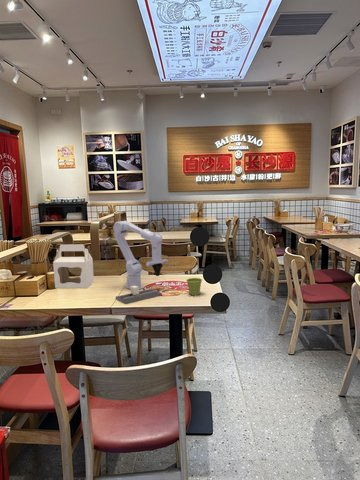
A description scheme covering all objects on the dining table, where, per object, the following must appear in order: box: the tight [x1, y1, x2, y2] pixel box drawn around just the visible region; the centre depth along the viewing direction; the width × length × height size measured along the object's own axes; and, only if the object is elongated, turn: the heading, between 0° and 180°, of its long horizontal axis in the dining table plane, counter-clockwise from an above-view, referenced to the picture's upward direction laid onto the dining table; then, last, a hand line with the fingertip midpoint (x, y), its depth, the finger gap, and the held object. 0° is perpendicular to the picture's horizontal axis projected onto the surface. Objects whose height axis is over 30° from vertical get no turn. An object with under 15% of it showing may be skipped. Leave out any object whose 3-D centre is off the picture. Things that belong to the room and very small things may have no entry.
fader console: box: [115, 288, 163, 305], centre depth 197 cm, size 12×24×2 cm, turn 127°
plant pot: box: [185, 277, 203, 296], centre depth 200 cm, size 9×9×9 cm
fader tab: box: [129, 285, 140, 296], centre depth 195 cm, size 4×3×5 cm
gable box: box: [52, 243, 95, 289], centre depth 225 cm, size 22×13×28 cm, turn 85°
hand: (157, 275), depth 208 cm, fingers closed
